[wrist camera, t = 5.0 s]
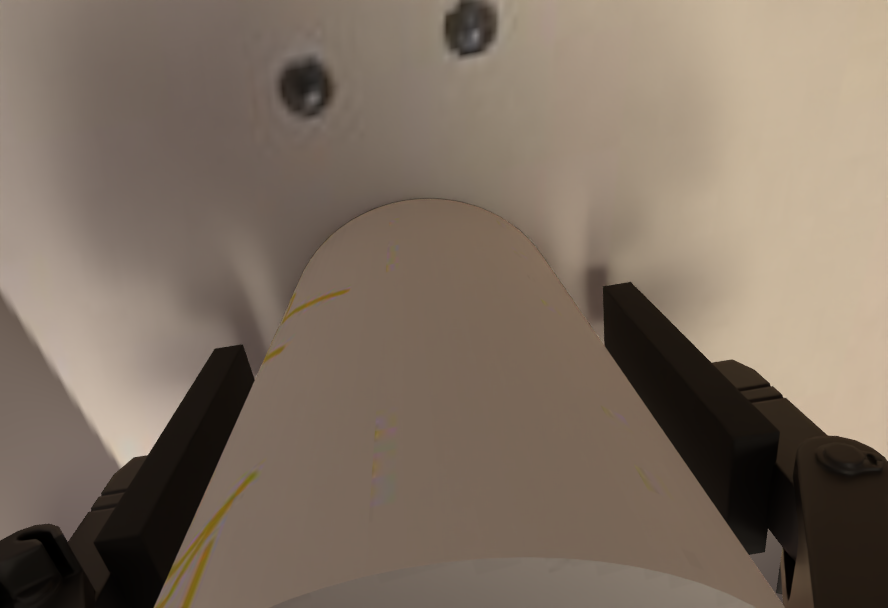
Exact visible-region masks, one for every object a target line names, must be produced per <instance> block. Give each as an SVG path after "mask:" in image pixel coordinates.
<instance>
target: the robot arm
mask: <svg viewBox="0 0 888 608" xmlns="http://www.w3.org/2000/svg"><path fill="white" fill-rule="evenodd" d="M603 307H604V341H605V347H606V349H607V350H608V352H609V353H610V355H611V356H612V358H613V359H614V360H615V362H616V363H617V365H618V366H619V368H620V369H621V371H622V372H623V373H624V375H625V376H626V378H627V379H628V381H629V382H630V384H631V385H632V387H633V388H634V389H635V391H636V392H637V394H638V395H639V397H640V398H641V400H642V401H643V402H644V404H645V405H646V407H647V408H648V410H649V411H650V413H651V414H652V416H653V417H654V418H655V420H656V421H657V423H658V424H659V426H660V427H661V429H662V430H663V431H664V433H665V434H666V436H667V437H668V439H669V440H670V442H671V443H672V445H673V446H674V447H675V449H676V450H677V452H678V453H679V455H680V456H681V458H682V459H683V460H684V462H685V463H686V465H687V466H688V468H689V469H690V471H691V472H692V474H693V475H694V476H695V478H696V479H697V481H698V482H699V484H700V485H701V487H702V488H703V489H704V491H705V492H706V494H707V495H708V497H709V498H710V500H711V501H712V502H713V504H714V505H715V507H716V508H717V510H718V511H719V513H720V514H721V516H722V517H723V518H724V520H725V521H726V523H727V524H728V526H729V527H730V529H731V530H732V531H733V533H734V534H735V536H736V537H737V539H738V540H739V542H740V543H741V545H742V546H743V547H744V549H745V550H746V552H747V553H748V555H750V554H756V553H762V552H765V546H766V538H767V531H768V529H769V530H770V531H771V532H772V534H773V535H774V536H775V538H776V539H777V540H778V542H779V543H780V544H781V545H782V547H783V549H782V556H781V562H780V569H779V576H778V583H777V590H776V593H779V594H782V595H783V605H784V607H785V608H888V461H887V460H886V458H885V457H884V456H882V455H881V454H880V453H878V452H877V451H876V450H874V449H873V448H871V447H869V446H867V445H865V444H862V443H860V442H858V441H856V440H852V439H847V438H843V437H839V436H828V435H826V434H825V433H824V432H823V431H822V430H821V429H820V428H819V427H818V426H816V425H815V424H814V423H813V422H812V421H811V420H810V419H809V418H808V417H806V416H805V415H804V414H803V413H802V412H801V411H800V410H799V409H798V408H796V407H795V406H794V405H793V404H792V403H791V402H790V401H789V400H788V399H786V398H783V396H782V394H781V393H780V392H779V391H778V390H776V389H775V388H774V387H773V386H772V387H771V386H770V383H769V382H768V381H766V380H765V379H764V378H763V377H762V376H761V375H760V374H759V373H757V372H756V371H755V370H754V369H752V368H749V367H747V366H745V365H743V364H741V363H739V362H737V361H734V360H726V361H720V362H714V363H711V362H710V361H709V360H708V359H707V358H706V357H705V356H704V355H703V354H702V353H701V352H700V351H699V350H698V349H697V348H696V347H695V346H694V345H693V344H692V343H691V342H690V341H689V340H688V339H687V338H686V337H685V336H684V335H683V334H682V333H681V332H680V331H679V330H678V329H677V328H676V327H675V326H674V325H673V324H672V323H671V322H670V321H669V320H668V319H667V318H666V317H665V316H664V315H663V314H662V313H661V312H660V311H659V310H658V309H657V308H656V307H655V306H654V305H653V304H652V303H651V302H650V301H649V300H648V299H647V298H646V297H645V296H644V295H643V294H642V293H641V292H640V291H639V290H638V289H637V288H636V287H635V286H634V285H633V284H632V283H631V282H628V283H621V284H615V285H609V286H603ZM254 381H255V379H254V376H253V373H252V370H251V367H250V364H249V361H248V358H247V355H246V352H245V349H244V346H243V344H241V345H235V346H229V347H222V348H216V349H214V351H213V353H212V354H211V356H210V357H209V359H208V361H207V362H206V364H205V365H204V367H203V368H202V370H201V372H200V373H199V375H198V376H197V378H196V380H195V381H194V383H193V384H192V386H191V388H190V389H189V391H188V392H187V394H186V396H185V397H184V399H183V400H182V402H181V404H180V405H179V407H178V408H177V410H176V411H175V413H174V415H173V416H172V418H171V419H170V421H169V423H168V424H167V426H166V427H165V429H164V431H163V432H162V434H161V435H160V437H159V439H158V440H157V442H156V443H155V445H154V447H153V448H152V450H151V451H150V453H149V454H148V455H147V456H140V457H134V458H133V459H131V460H130V461H129V462H128V463H127V464H126V465H124V466H123V467H122V468H121V469H120V470H119V471H118V472H116V473H115V474H114V475H113V477H112V478H111V480H110V481H109V483H108V484H107V486H106V487H105V488H104V490H103V491H102V493H101V494H102V495H101V496H100V497H98V499H97V500H96V502H95V503H94V505H93V506H92V508H91V512H88V514H87V515H86V516H85V518H84V519H83V521H82V522H81V524H80V525H79V527H78V528H77V530H76V531H75V533H74V534H73V536H72V537H71V538H70V540H69V541H68V542H67V540H66V538H65V537H64V535H63V533H62V531H61V530H60V528H59V527H58V526H55V525H52V524H42V525H34V526H32V527H29V528H26V529H23V530H20V531H17V532H15V533H14V534H12V535H10V536H8V537H6V538H4V539H3V540H1V541H0V608H154V606H155V604H156V601H157V599H158V597H159V595H160V592H161V590H162V588H163V586H164V583H165V581H166V579H167V577H168V574H169V572H170V570H171V568H172V565H173V563H174V561H175V559H176V556H177V554H178V552H179V550H180V547H181V545H182V543H183V541H184V538H185V536H186V534H187V532H188V529H189V527H190V525H191V523H192V520H193V518H194V516H195V514H196V511H197V509H198V507H199V505H200V502H201V500H202V498H203V496H204V493H205V491H206V489H207V487H208V484H209V482H210V480H211V478H212V475H213V473H214V471H215V469H216V466H217V464H218V462H219V460H220V457H221V455H222V453H223V451H224V448H225V446H226V444H227V442H228V439H229V437H230V435H231V433H232V430H233V428H234V426H235V424H236V421H237V419H238V417H239V415H240V412H241V410H242V408H243V406H244V403H245V401H246V399H247V397H248V394H249V392H250V390H251V388H252V385H253V383H254Z"/></svg>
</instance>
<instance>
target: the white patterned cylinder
mask: <svg viewBox="0 0 888 608" xmlns="http://www.w3.org/2000/svg"><path fill="white" fill-rule="evenodd" d="M154 608H785V607H784V605H783V604H782V603H781V601H780V600H779V598H778V597H777V595H776V594H775V592H774V591H773V589H772V588H771V587H770V585H769V584H768V582H767V581H766V579H765V578H764V576H763V575H762V574H761V572H760V571H759V569H758V568H757V566H756V565H755V563H754V562H753V561H752V559H751V558H750V556H749V555H748V553H747V552H746V550H745V549H744V547H743V546H742V545H741V543H740V542H739V540H738V539H737V537H736V536H735V534H734V533H733V531H732V530H731V529H730V527H729V526H728V524H727V523H726V521H725V520H724V518H723V517H722V516H721V514H720V513H719V511H718V510H717V508H716V507H715V505H714V504H713V502H712V501H711V500H710V498H709V497H708V495H707V494H706V492H705V491H704V489H703V488H702V487H701V485H700V484H699V482H698V481H697V479H696V478H695V476H694V475H693V474H692V472H691V471H690V469H689V468H688V466H687V465H686V463H685V462H684V460H683V459H682V458H681V456H680V455H679V453H678V452H677V450H676V449H675V447H674V446H673V445H672V443H671V442H670V440H669V439H668V437H667V436H666V434H665V433H664V431H663V430H662V429H661V427H660V426H659V424H658V423H657V421H656V420H655V418H654V417H653V416H652V414H651V413H650V411H649V410H648V408H647V407H646V405H645V404H644V402H643V401H642V400H641V398H640V397H639V395H638V394H637V392H636V391H635V389H634V388H633V387H632V385H631V384H630V382H629V381H628V379H627V378H626V376H625V375H624V373H623V372H622V371H621V369H620V368H619V366H618V365H617V363H616V362H615V360H614V359H613V358H612V356H611V355H610V353H609V352H608V350H607V349H606V347H605V346H604V345H603V343H602V342H601V340H600V339H599V337H598V336H597V334H596V333H595V331H594V330H593V329H592V327H591V326H590V324H589V323H588V321H587V320H586V318H585V317H584V316H583V314H582V313H581V311H580V310H579V308H578V307H577V305H576V304H575V302H574V301H573V300H572V298H571V297H570V295H569V294H568V292H567V291H566V289H565V288H564V287H563V285H562V284H561V282H560V281H559V279H558V278H557V276H556V275H555V273H554V272H553V271H552V269H551V268H550V266H549V265H548V263H547V262H546V260H545V259H544V258H543V256H542V255H541V253H540V252H539V251H538V249H537V248H536V247H535V245H534V244H533V243H532V242H531V241H530V240H529V239H528V238H527V237H526V236H525V235H524V234H523V233H522V232H521V231H519V230H518V229H517V228H516V227H514V226H513V225H512V224H510V223H509V222H507V221H506V220H504V219H503V218H501V217H499V216H497V215H495V214H493V213H491V212H489V211H487V210H484V209H482V208H479V207H476V206H473V205H470V204H466V203H462V202H458V201H452V200H444V199H413V200H406V201H400V202H396V203H391V204H388V205H384V206H381V207H378V208H376V209H373V210H371V211H368V212H366V213H364V214H362V215H360V216H358V217H356V218H355V219H353V220H351V221H350V222H348V223H347V224H345V225H344V226H342V227H341V228H340V229H338V230H337V231H336V232H335V233H334V234H332V235H331V236H330V237H329V238H328V239H327V240H326V241H325V242H324V243H323V244H322V245H321V246H320V248H319V249H318V250H317V251H316V252H315V254H314V255H313V257H312V258H311V259H310V261H309V263H308V264H307V266H306V268H305V269H304V271H303V273H302V276H301V278H300V280H299V282H298V284H297V286H296V289H295V291H294V293H293V295H292V298H291V300H290V302H289V304H288V307H287V309H286V311H285V313H284V316H283V318H282V320H281V322H280V325H279V327H278V329H277V331H276V334H275V336H274V338H273V340H272V343H271V345H270V347H269V349H268V352H267V354H266V356H265V358H264V361H263V363H262V365H261V367H260V370H259V372H258V374H257V376H256V379H255V381H254V383H253V385H252V388H251V390H250V392H249V394H248V397H247V399H246V401H245V403H244V406H243V408H242V410H241V412H240V415H239V417H238V419H237V421H236V424H235V426H234V428H233V430H232V433H231V435H230V437H229V439H228V442H227V444H226V446H225V448H224V451H223V453H222V455H221V457H220V460H219V462H218V464H217V466H216V469H215V471H214V473H213V475H212V478H211V480H210V482H209V484H208V487H207V489H206V491H205V493H204V496H203V498H202V500H201V502H200V505H199V507H198V509H197V511H196V514H195V516H194V518H193V520H192V523H191V525H190V527H189V529H188V532H187V534H186V536H185V538H184V541H183V543H182V545H181V547H180V550H179V552H178V554H177V556H176V559H175V561H174V563H173V565H172V568H171V570H170V572H169V574H168V577H167V579H166V581H165V583H164V586H163V588H162V590H161V592H160V595H159V597H158V599H157V601H156V604H155V606H154Z"/></svg>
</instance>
